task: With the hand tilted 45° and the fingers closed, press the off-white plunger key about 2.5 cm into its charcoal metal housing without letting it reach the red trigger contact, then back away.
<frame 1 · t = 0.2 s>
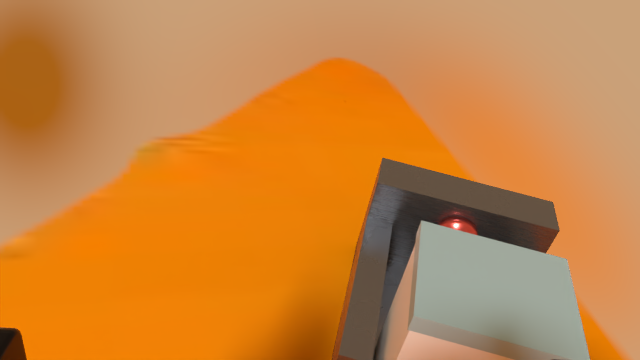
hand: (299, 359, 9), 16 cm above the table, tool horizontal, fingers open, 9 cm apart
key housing: (427, 336, 31), on the table
plunger key: (461, 348, 23), point 6 cm above the table, slide at 0.0 cm
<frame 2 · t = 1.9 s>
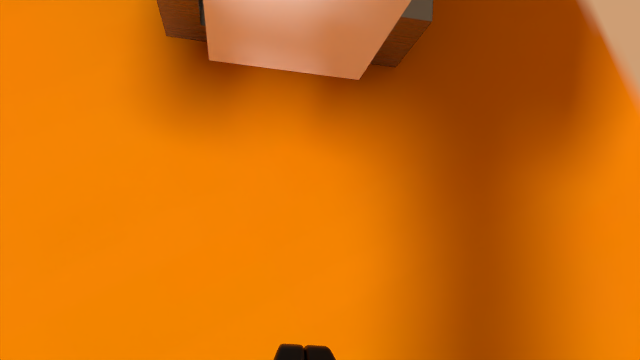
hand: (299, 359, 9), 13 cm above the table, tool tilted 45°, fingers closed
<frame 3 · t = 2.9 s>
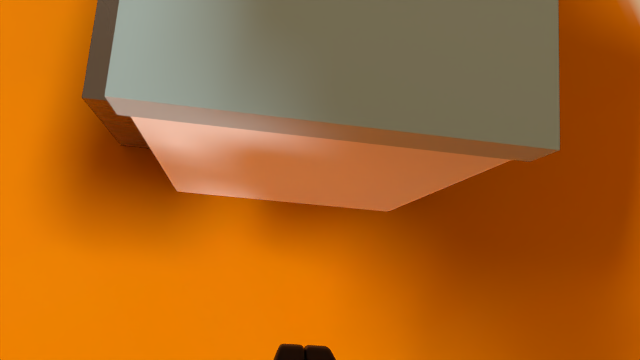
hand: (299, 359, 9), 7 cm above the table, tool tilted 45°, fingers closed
plunger key: (314, 62, 12), point 6 cm above the table, slide at 0.0 cm
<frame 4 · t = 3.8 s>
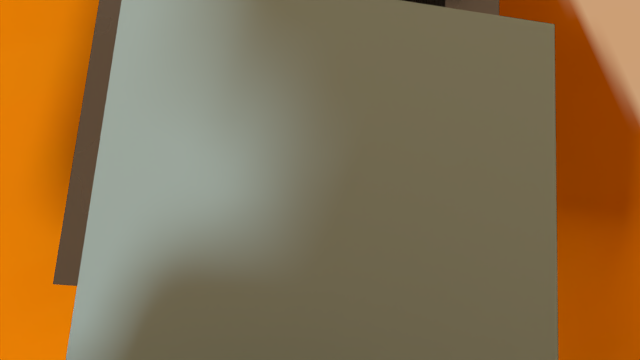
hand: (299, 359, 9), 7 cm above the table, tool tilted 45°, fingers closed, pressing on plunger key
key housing: (288, 107, 18), on the table
plunger key: (301, 209, 11), point 6 cm above the table, slide at 0.9 cm, touching gripper
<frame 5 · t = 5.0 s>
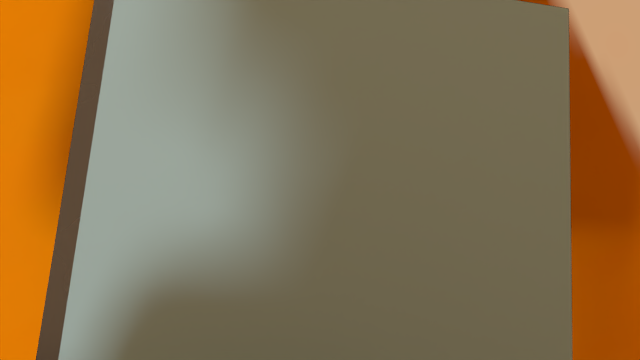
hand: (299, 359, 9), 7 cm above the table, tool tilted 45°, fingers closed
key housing: (285, 156, 17), on the table
plunger key: (304, 202, 11), point 6 cm above the table, slide at 2.8 cm
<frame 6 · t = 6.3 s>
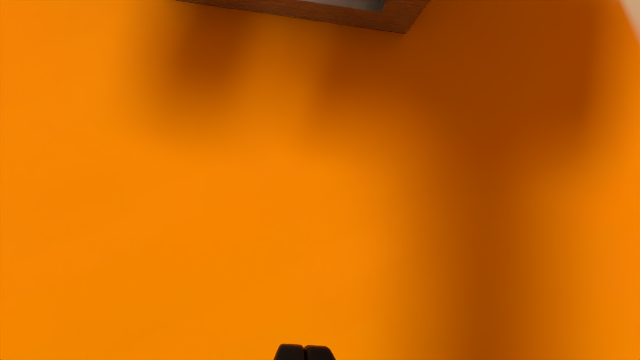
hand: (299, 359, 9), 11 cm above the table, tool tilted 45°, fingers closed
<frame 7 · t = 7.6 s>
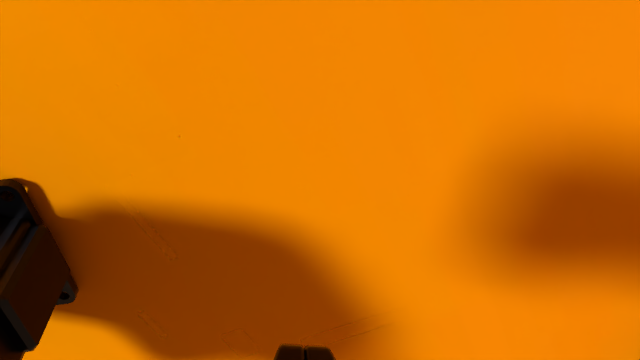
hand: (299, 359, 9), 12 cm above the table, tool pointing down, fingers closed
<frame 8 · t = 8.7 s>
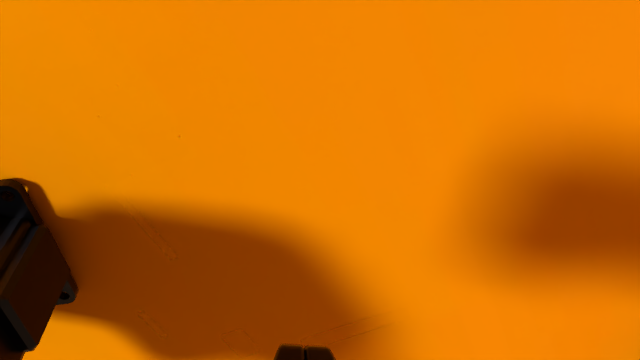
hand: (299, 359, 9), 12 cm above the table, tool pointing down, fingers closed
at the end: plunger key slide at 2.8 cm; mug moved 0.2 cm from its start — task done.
